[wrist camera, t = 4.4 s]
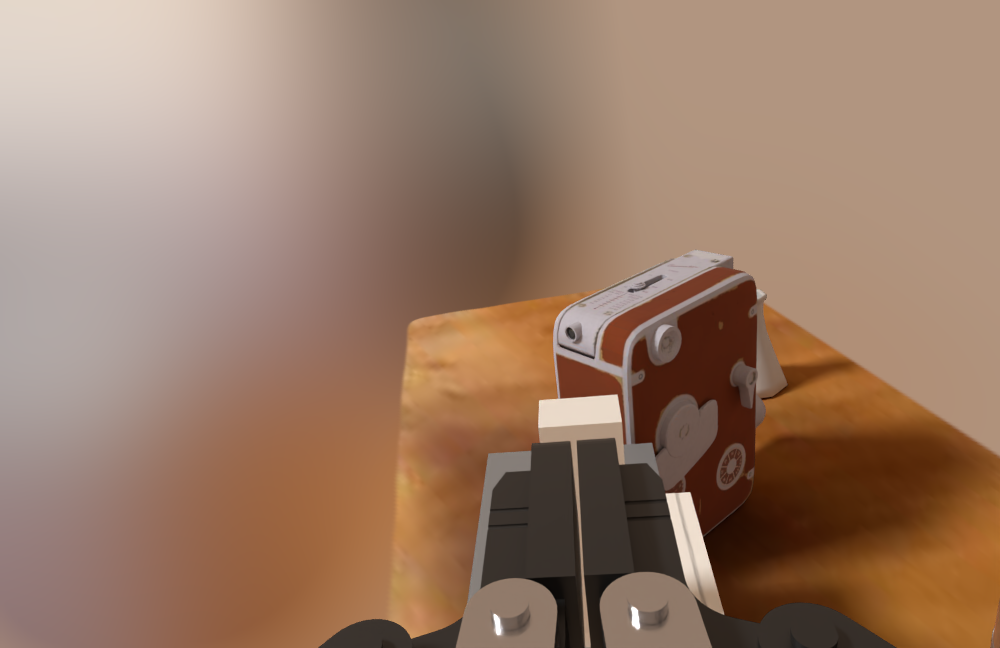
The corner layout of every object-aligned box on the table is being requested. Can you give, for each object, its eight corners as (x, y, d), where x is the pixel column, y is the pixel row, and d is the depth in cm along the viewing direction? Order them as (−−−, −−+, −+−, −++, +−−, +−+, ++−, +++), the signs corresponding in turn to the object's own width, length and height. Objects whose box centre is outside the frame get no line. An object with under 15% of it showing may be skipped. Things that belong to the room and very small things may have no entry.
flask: (742, 410, 71) (743, 314, 67) (696, 381, 77) (694, 292, 73) (801, 388, 73) (805, 294, 69) (751, 361, 80) (752, 274, 76)
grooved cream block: (578, 679, 44) (539, 327, 35) (694, 676, 43) (685, 314, 34) (584, 836, 36) (535, 427, 27) (728, 834, 35) (727, 414, 26)
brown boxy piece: (805, 473, 61) (817, 242, 53) (654, 603, 50) (640, 336, 42) (711, 435, 68) (708, 225, 60) (559, 542, 57) (532, 303, 49)
